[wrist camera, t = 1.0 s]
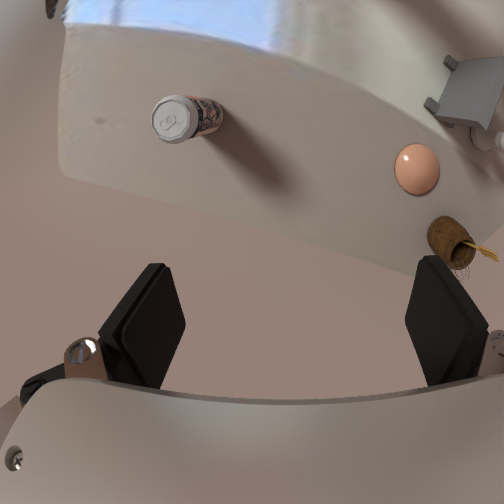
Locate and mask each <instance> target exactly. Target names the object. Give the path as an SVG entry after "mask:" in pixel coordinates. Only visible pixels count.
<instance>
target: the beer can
mask: <svg viewBox="0 0 504 504" xmlns="http://www.w3.org/2000/svg"><path fill="white" fill-rule="evenodd" d="M222 121H223V111H222V108H221V106H220V105H219V104H218V103H217V102H216V101H214V100H212V99H207V98H199V97H191V96H182V95H170V96H167V97H165V98H164V99H162V100H161V101H160V102H159V103H158V104H157V105H156V106H155V108H154V110H153V112H152V114H151V127H152V129H153V131H154V133H155V135H156V136H157V137H158V138H159V139H160V140H162V141H164V142H166V143H170V144H177V143H181V142H184V141H185V140H187V139H190V138H193V137H197V136H200V135H203V134H209V133H212V132H214V131H216V130H217V129H218V128H219V127H220V125H221V123H222Z"/></svg>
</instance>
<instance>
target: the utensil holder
mask: <svg viewBox="0 0 504 504" xmlns="http://www.w3.org/2000/svg"><path fill="white" fill-rule="evenodd" d="M427 240H428V243H429V245H430V247H431V248H432V250H433V251H434V252H435V253H436V255H438V256H439V257H440V258H441V259H442V260H443V262H444V263H446V264H447V265H448V266H450V267H451V269H454V270H460V271H461V269H464V268H466V266H468V265H469V264H470V263H471V261H472V260H473V258H474V255H475V252H476V249H477V250H479V251H481V252H482V254H483V255H485V256H487V257H489V258H491V259H493V260H495V261H497V262H498V261H499V260H498V259H496V258H498V257H497V256H495V255H497V254H496V253H494V252H493V251H491V250H488V249H487V248H484V247H483V246H481V247H477V246H475V242H474V241H473V239H472V238H471V237H470V236H469V234H468V232H467V231H466V229H465V228H464V227H463V226H461V225H460V224H459V223H458V222H457V221H455V220H454V219H453V218H451V217H448V216H442V217H439V218H437V219H436V220H434V221H433V222H432V224H431V225H430V227H429V229H428V233H427ZM493 254H494V255H493ZM494 257H495V258H494ZM452 273H453V272H452ZM455 274H456V273H455ZM466 278H467V277H466ZM466 278H465V279H466ZM465 279H463V280H465ZM458 281H460V280H458Z"/></svg>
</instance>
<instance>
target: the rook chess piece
mask: <svg viewBox="0 0 504 504" xmlns="http://www.w3.org/2000/svg"><path fill="white" fill-rule="evenodd" d="M471 139H472V141H473V144H474V145H475V147H476V148H477V149H479V150H483V151H488V150H490V149H492V148H496V149H498V150H499V151H503V153H504V132H502V131H499V132H497V131H495V130H494V129H493V128H492V127H491V126H490V125H488V128H487V130H483V129H479V128H474V127H472V129H471Z"/></svg>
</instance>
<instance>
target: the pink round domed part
mask: <svg viewBox="0 0 504 504" xmlns="http://www.w3.org/2000/svg"><path fill="white" fill-rule="evenodd" d="M394 170H395V176H396V179H397V181H398V183H399V184H400V186H401V187H402V188H403V189H405V190H406V191H407V192H409V193H412V194H423V193H426V192H427V191H429V190H430V189H431V188H432V187H433V186H434V185H435V183H436V181H437V179H438V176H439V163H438V160H437V157H436V155H435V154H434V152H433V151H432V150H431V149H429V148H428V147H426V146H424V145H421V144H411V145H408V146H406V147H405V148H403V149H402V150H401V151H400V153H399V154H398V156H397V158H396V161H395V167H394Z"/></svg>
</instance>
